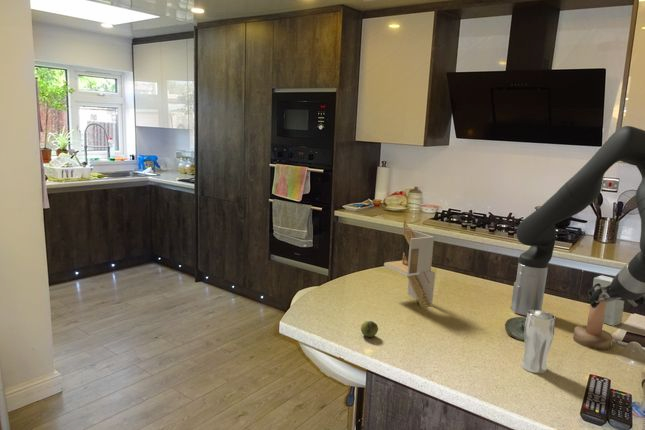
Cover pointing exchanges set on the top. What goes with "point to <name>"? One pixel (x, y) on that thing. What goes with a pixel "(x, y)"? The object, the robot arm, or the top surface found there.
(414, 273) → the staircase
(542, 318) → the beer glass
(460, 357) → the top surface
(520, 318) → the lid
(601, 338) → the base
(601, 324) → the pink drinking glass
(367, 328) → the lime
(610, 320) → the skincare box
